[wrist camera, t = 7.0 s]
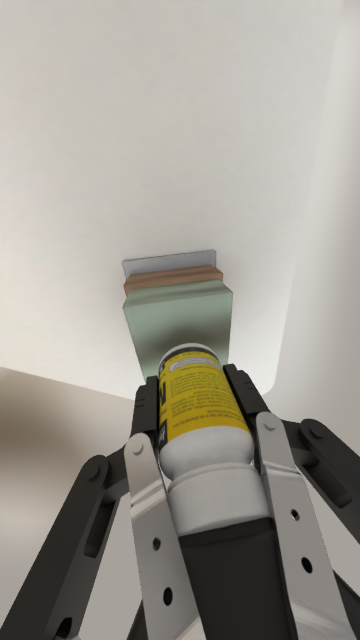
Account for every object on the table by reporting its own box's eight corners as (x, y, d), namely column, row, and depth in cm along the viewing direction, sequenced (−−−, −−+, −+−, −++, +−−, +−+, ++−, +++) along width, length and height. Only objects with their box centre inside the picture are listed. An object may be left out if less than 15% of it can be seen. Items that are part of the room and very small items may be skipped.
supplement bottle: (151, 349, 12) (140, 535, 5) (214, 334, 12) (299, 500, 5) (166, 390, 15) (174, 555, 7) (219, 378, 15) (279, 531, 7)
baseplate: (123, 260, 20) (121, 262, 19) (213, 249, 20) (215, 251, 20) (145, 345, 27) (144, 349, 26) (212, 335, 27) (214, 339, 26)
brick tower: (129, 275, 20) (114, 302, 13) (211, 264, 20) (239, 285, 13) (146, 341, 25) (141, 386, 18) (211, 332, 25) (231, 372, 19)
